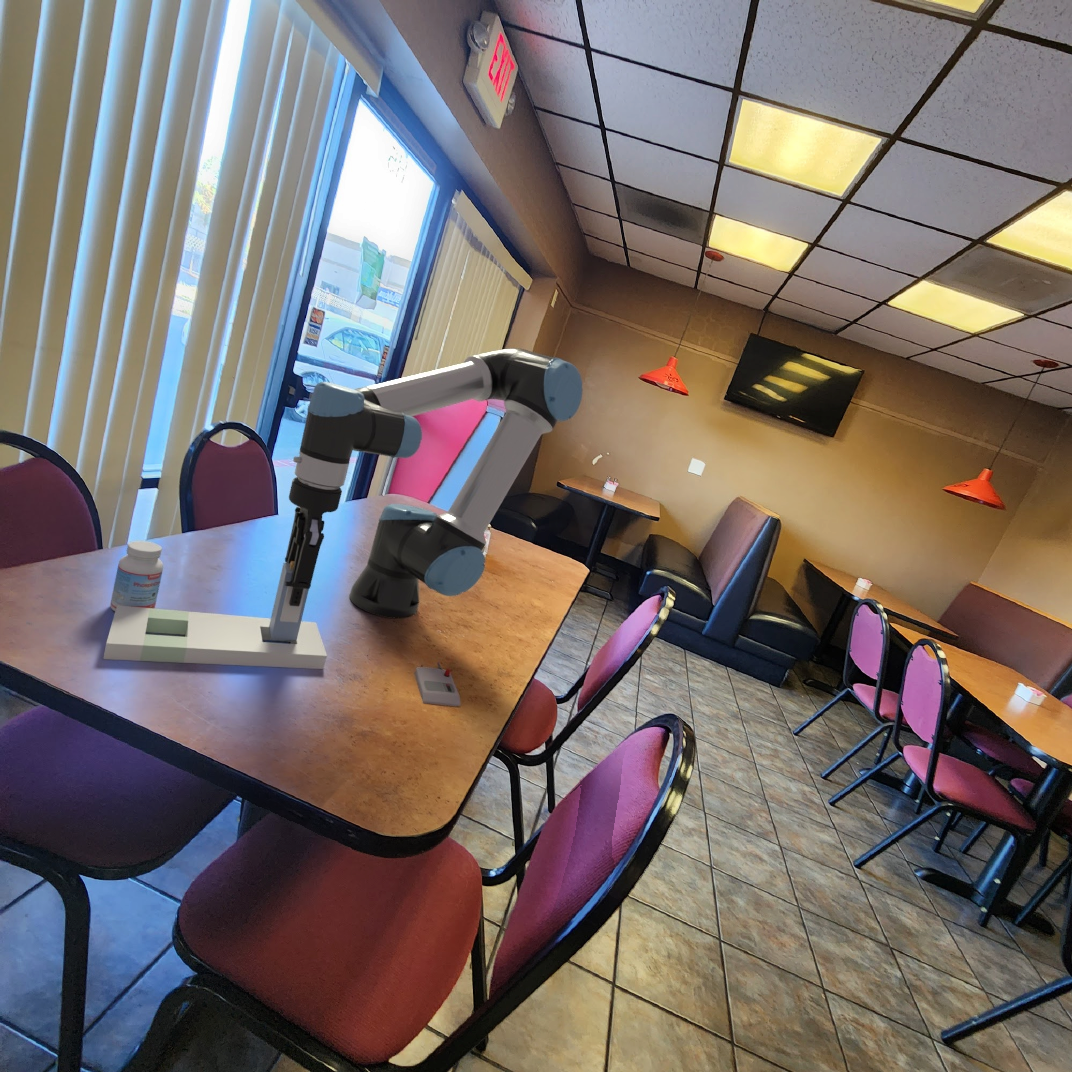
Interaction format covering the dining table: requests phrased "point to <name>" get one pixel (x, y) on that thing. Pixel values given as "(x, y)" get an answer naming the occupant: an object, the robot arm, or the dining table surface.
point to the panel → (209, 639)
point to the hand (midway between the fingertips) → (287, 614)
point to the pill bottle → (138, 576)
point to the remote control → (437, 686)
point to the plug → (276, 626)
